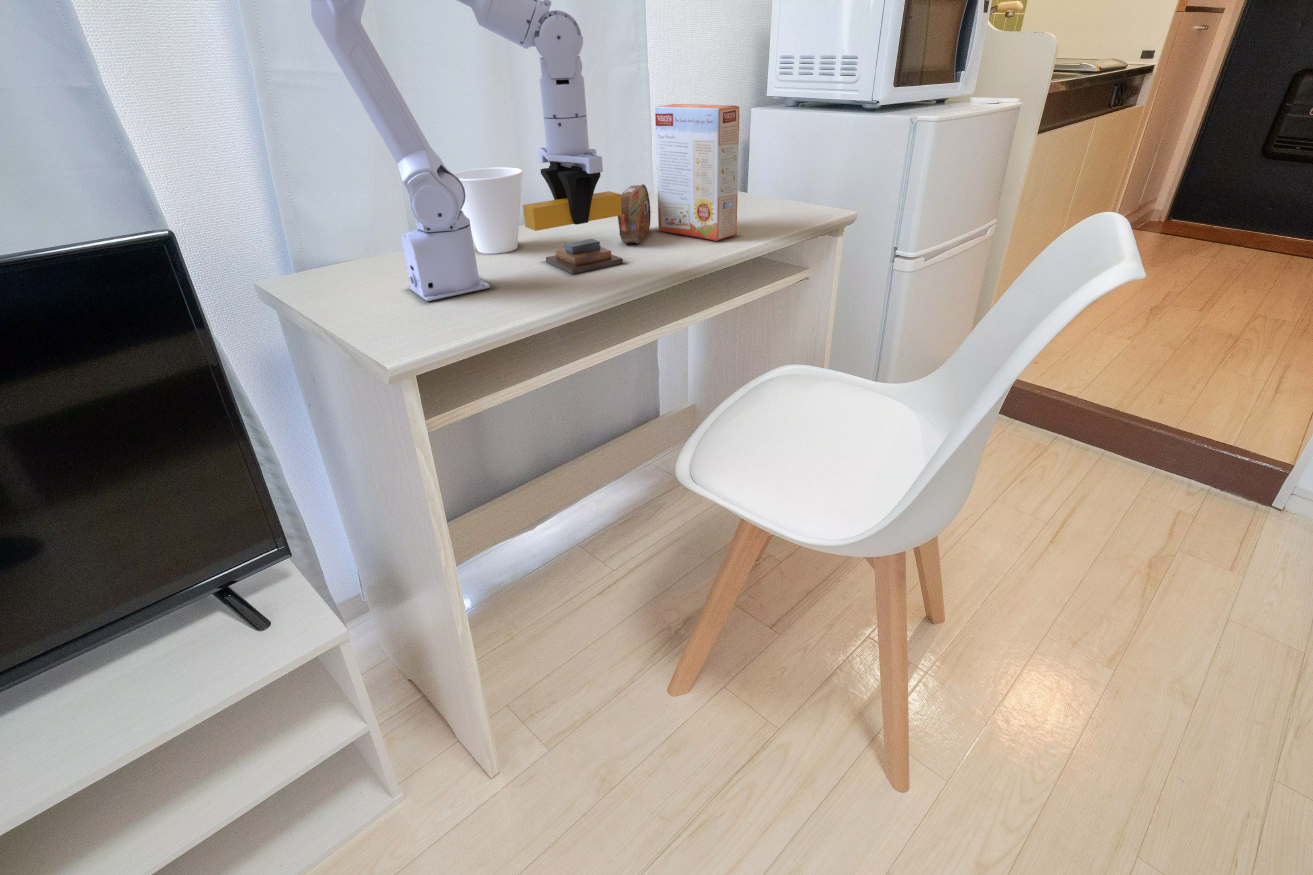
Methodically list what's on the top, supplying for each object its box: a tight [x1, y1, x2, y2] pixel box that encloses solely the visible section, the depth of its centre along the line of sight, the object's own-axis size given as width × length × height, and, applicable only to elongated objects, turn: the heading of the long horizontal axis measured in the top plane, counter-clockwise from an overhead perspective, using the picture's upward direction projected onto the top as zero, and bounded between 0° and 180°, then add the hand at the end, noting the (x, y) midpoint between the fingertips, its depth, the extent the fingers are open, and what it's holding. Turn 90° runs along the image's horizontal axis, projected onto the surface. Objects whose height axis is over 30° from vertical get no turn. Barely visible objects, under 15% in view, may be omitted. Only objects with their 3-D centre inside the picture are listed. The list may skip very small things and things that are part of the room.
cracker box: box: [654, 103, 740, 242], centre depth 120 cm, size 14×6×21 cm, turn 46°
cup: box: [453, 166, 524, 255], centre depth 117 cm, size 12×12×12 cm
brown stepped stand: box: [545, 238, 624, 275], centre depth 110 cm, size 9×9×3 cm
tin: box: [617, 184, 652, 244], centre depth 122 cm, size 15×3×8 cm, turn 168°
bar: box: [522, 190, 622, 232], centre depth 98 cm, size 14×3×3 cm, turn 125°
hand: (574, 221), depth 99 cm, fingers closed on bar, 3 cm apart
